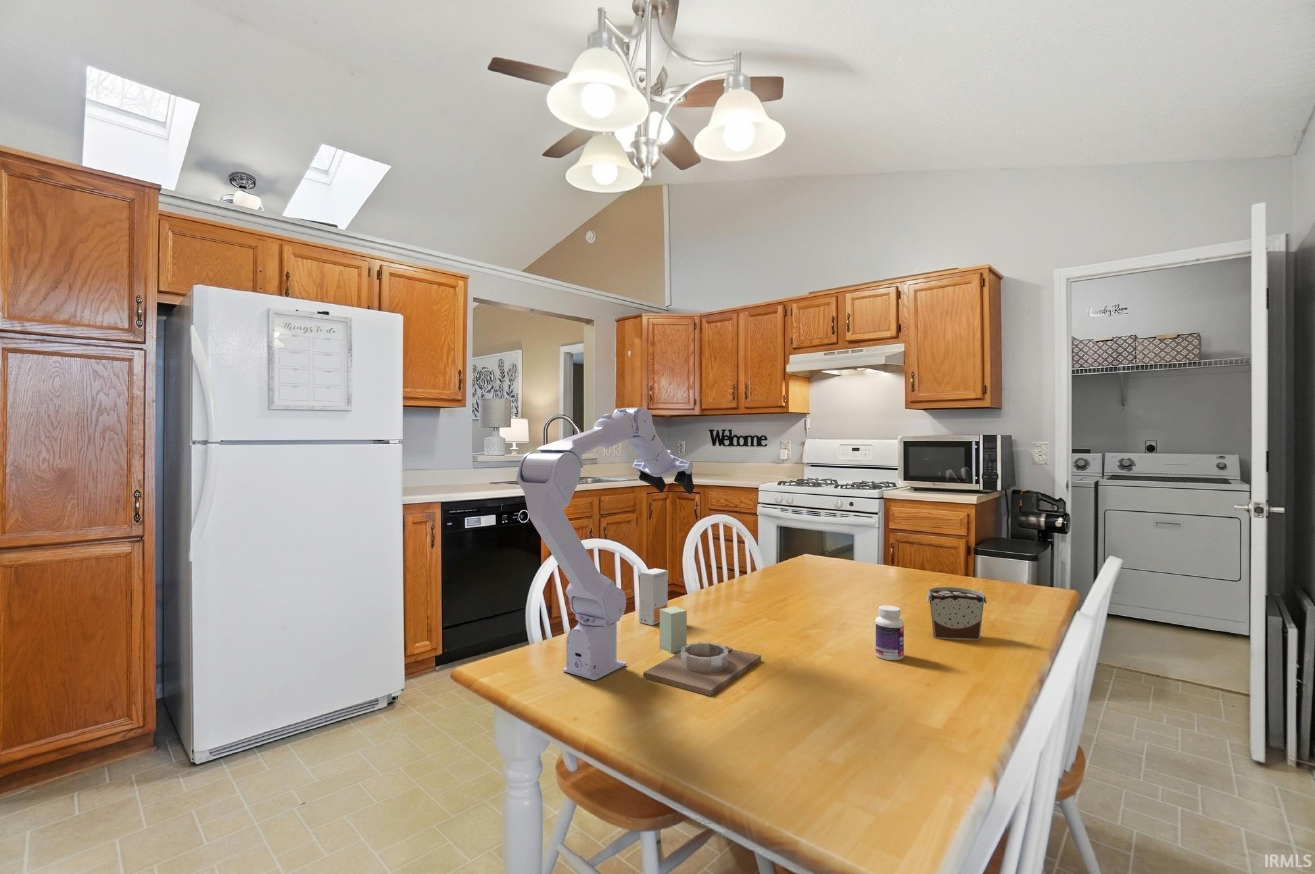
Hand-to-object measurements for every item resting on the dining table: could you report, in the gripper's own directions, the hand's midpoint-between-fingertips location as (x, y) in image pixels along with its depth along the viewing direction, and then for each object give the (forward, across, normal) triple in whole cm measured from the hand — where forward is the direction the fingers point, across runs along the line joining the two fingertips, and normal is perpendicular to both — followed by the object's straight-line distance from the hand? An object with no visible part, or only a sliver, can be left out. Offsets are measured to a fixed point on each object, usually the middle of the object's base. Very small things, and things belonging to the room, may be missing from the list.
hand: (677, 489), depth 138 cm
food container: (+46, -52, +2) cm, 69 cm away
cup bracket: (+9, -17, +35) cm, 40 cm away
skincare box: (+23, +8, +22) cm, 33 cm away
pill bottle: (+29, -44, +17) cm, 55 cm away
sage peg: (+13, -6, +31) cm, 34 cm away
